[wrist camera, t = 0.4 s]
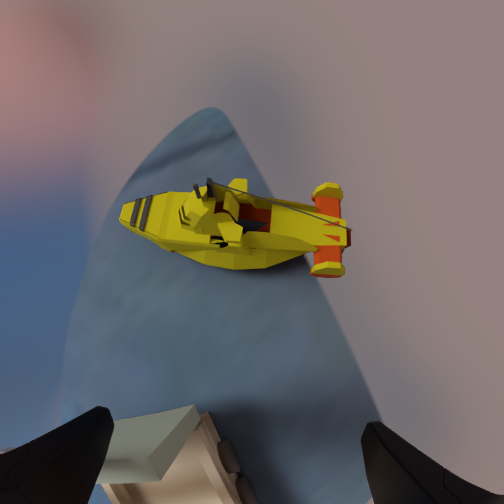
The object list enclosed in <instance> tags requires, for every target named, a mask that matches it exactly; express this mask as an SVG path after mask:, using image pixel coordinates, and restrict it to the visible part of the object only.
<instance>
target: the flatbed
mask: <svg viewBox="0 0 504 504" xmlns="http://www.w3.org/2000/svg"><path fill="white" fill-rule="evenodd" d="M199 416H200V418H201V419H200V421H199V422H198V424H197V426H196V427H195V429H194V430H193V432H192V434H191V435H190V437H189V438H188V440H187V441H186V443H185V445H184V446H183V448H182V449H181V451H180V452H179V454H178V455H177V457H176V459H175V460H174V462H173V463H172V465H171V466H170V468H169V469H168V471H167V472H166V474H165V475H164V477H163V478H162V480H161V481H155V482H142V483H122V484H101V485H102V486H103V488H104V490H105V492H106V493H107V495H108V497H109V499H110V500H111V502H112V503H113V504H257V499H256V495H255V492H254V489H253V487H252V485H251V483H250V481H249V479H248V478H247V477H246V476H245V477H242V478H238V476H237V474H236V472H240V463H239V460H238V456H237V454H236V451H235V449H234V447H233V445H232V443H231V442H230V441H229V440H224V441H221V440H220V438H219V435H218V433H217V431H216V429H215V426H214V424H213V422H212V419H211V417H210V414H209V412H206V413H202V414H199Z"/></svg>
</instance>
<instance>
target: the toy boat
mask: <svg viewBox="0 0 504 504" xmlns="http://www.w3.org/2000/svg"><path fill="white" fill-rule="evenodd" d="M206 184H207V186H204V187H200V188H198V185H197V184H193V188H194V190H193V192H192V193H189V192H165V193H161V194H157V195H154V196H153V195H150V196H147V197H146V198H143V199H142V198H139V199H136V200H135V201H132V202H129V203H125V204H124V206H123V208H122V212H121V216H120V219H119V221H120V222H121V223H122V224H123V225H124V226H125V227H127V228H128V229H129V230H131V231H132V232H134V233H136V234H138V235H141V236H143V237H145V238H147V239H149V240H151V241H152V242H154V243H156V244H157V245H158V246H160V247H161V248H163V249H165V250H167V251H169V252H178V253H180V254H182V255H185V256H187V257H189V258H191V259H193V260H196V261H198V262H200V263H202V264H206V265H211V266H216V267H222V268H228V269H233V270H236V269H258V268H267V267H269V266H272V265H275V264H278V263H281V262H283V261H286V260H289V259H292V258H294V257H297V256H300V255H303V254H305V253H308V252H314V266H313V267H312V268H311V269H310V275H313V276H315V277H324V278H336V277H341V276H342V275H344V274H345V267H344V266H343V265H342V253H343V251H344V248H347V247H349V246H351V229H349V228H347V227H346V220H344V219H341V208H340V202H341V200H342V198H343V192H342V190H341V188H340V186H339V184H335V183H329V182H326V183H324V184H323V185H321V186H319V187H317V188H316V189H315V191H314V193H313V194H312V201H314V202H315V206H310V205H306V204H302V203H298V202H292V201H286V200H279V199H273V198H266V197H259V196H256V195H253V194H250V193H249V192H247V179H237V178H235V179H234V180H233V181H232V182H231V183H230V184H229V185H228V186H224V185H221V184H218V183H215V182H212V179H210V178H207V183H206ZM233 219H235V220H236V221H237V222H238V219H246V220H252V221H258V222H264V223H268V224H267V225H265V226H263V227H261V228H259V229H258V232H251V231H247V233H246V234H243V233H242V230H243V227H241V226H240V225H238V224H236V223H235V222H234V220H233ZM213 236H223V238H224V240H225V241H222V240H216V239H213ZM218 242H227V243H228V246H226V247H224V248H222V247H219V246H220V245H217V244H212V243H218ZM253 248H255V249H253Z"/></svg>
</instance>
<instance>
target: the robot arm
mask: <svg viewBox="0 0 504 504" xmlns="http://www.w3.org/2000/svg"><path fill="white" fill-rule="evenodd" d="M113 431H114V422H113V419H112V416H111V413H110V411H109V409H108V408H105V407H102V406H96V407H95V408H93V409H91V410H89V411H87V412H86V413H84V414H82V415H80V416H78V417H77V418H75V419H73V420H71V421H69V422H67V423H65V424H63V425H62V426H60V427H58V428H56V429H54V430H52V431H50V432H48V433H46V434H44V435H43V436H40V437H38V438H36V439H35V440H32V441H30V442H29V443H26V444H24V445H22V446H20V447H18V448H15V449H13V450H10V451H8V452H5V453H2V454H0V504H88V501H89V499H90V496H91V494H92V491H93V489H94V486H95V483H96V481H97V479H98V476H99V474H100V471H101V469H102V466H103V464H104V461H105V458H106V455H107V452H108V448H109V444H110V441H111V437H112V434H113ZM361 444H362V450H363V457H364V463H365V470H366V475H367V479H368V483H369V486H370V490H371V493H372V497H373V500H374V504H504V495H498V494H494V493H491V492H489V491H487V490H485V489H482V488H480V487H478V486H476V485H473V484H471V483H469V482H467V481H465V480H464V479H462V478H460V477H458V476H457V475H455V474H453V473H452V472H450V471H449V470H447V469H446V468H443V466H441V465H440V464H438V463H437V462H435V461H434V460H432V459H431V458H430V457H428V456H427V455H425V454H424V453H422V452H421V451H419V450H418V449H417V448H415V447H414V446H413V445H411V444H410V443H408V442H407V441H406V440H404V439H403V438H401V437H400V436H399V435H397V434H396V433H395V432H393V431H392V430H391V429H389V428H388V427H387V426H385V425H384V424H383V423H381V422H380V421H373V422H369V423H367V425H366V427H365V430H364V432H363V434H362V437H361Z"/></svg>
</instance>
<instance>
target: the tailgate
mask: <svg viewBox="0 0 504 504" xmlns="http://www.w3.org/2000/svg"><path fill="white" fill-rule="evenodd" d="M200 419H201V418H200V416H199V413H198V411H197V409H196V406H195V404H194V405H190V406H186V407H182V408H178V409H173V410H169V411H164V412H160V413H155V414H150V415H145V416H139V417H134V418H128V419H122V420H115V421H113V422H114V431H113V434H112V437H111V441H110V444H109V448H108V452H107V455H106V458H105V461H104V464H103V466H102V469H101V471H100V474H99V476H98V479H97V481H96V483H95V484H122V483H142V482H155V481H161V480H162V478H163V477H164V475H165V474H166V472H167V471H168V469H169V468H170V466H171V465H172V463H173V462H174V460H175V459H176V457H177V455H178V454H179V452H180V451H181V449H182V448H183V446H184V445H185V443H186V441H187V440H188V438H189V437H190V435H191V434H192V432H193V430H194V429H195V427H196V426H197V424H198V422H199V421H200ZM13 449H15V448H11V447H9V448H5V449H2V450H0V454H2V453H5V452H8V451H10V450H13Z"/></svg>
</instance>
